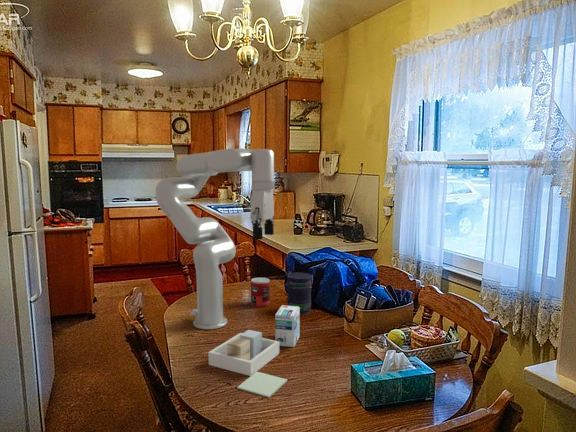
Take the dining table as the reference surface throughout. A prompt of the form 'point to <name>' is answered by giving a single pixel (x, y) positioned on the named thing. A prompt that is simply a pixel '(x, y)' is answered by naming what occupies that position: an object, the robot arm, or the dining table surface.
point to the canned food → (260, 292)
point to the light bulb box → (287, 325)
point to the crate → (243, 366)
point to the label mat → (262, 384)
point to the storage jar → (299, 291)
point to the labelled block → (239, 348)
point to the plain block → (253, 342)
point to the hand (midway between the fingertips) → (263, 236)
